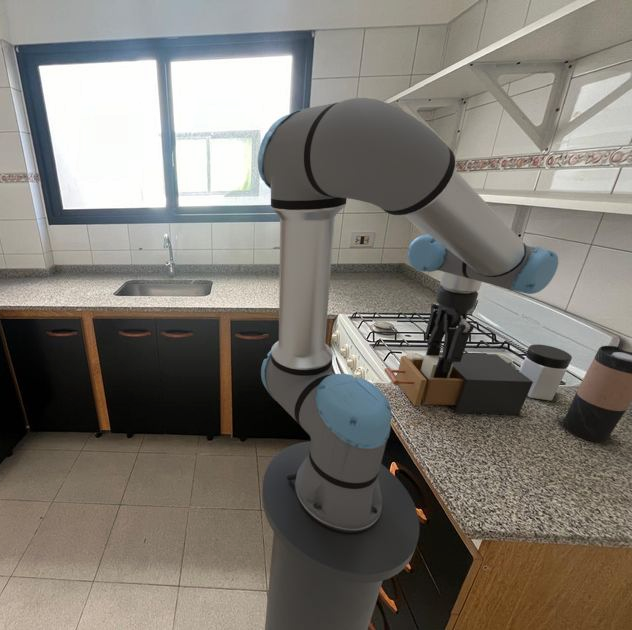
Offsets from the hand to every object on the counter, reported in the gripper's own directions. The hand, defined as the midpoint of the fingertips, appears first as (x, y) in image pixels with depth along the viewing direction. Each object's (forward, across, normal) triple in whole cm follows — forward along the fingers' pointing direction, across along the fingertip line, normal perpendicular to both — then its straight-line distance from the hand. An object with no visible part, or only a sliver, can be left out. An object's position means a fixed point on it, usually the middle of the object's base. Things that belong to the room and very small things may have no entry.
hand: (433, 374), depth 88 cm
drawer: (+6, 0, +2) cm, 6 cm away
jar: (+7, +4, -29) cm, 30 cm away
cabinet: (+7, 0, -11) cm, 13 cm away
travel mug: (+7, -11, -29) cm, 32 cm away
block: (0, 0, 0) cm, 0 cm away
